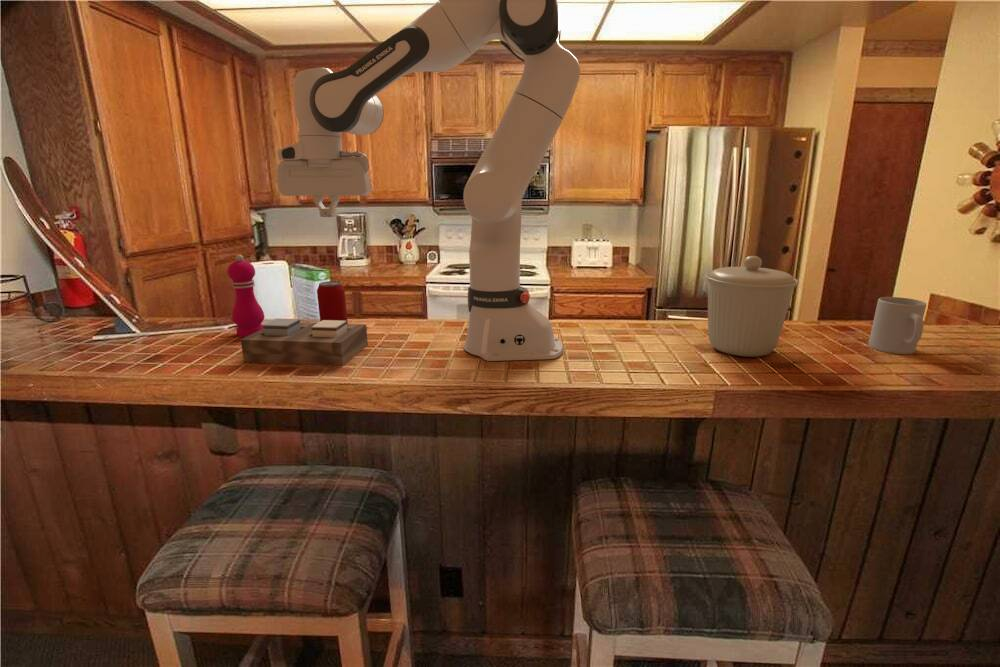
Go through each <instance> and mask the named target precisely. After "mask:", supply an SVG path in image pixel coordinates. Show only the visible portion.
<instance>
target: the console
mask: <svg viewBox="0 0 1000 667" xmlns="http://www.w3.org/2000/svg"><path fill="white" fill-rule="evenodd" d="M317 323H318V322H300V329H301V330H299V331H298V332H296V333H294V334H292V335H291V336H272V335H265V334H264V329H261V330H259V331H257V332H255V333H253V334H251V335H249V336H247V337H242V338H241V339H240V344H241V345H240V346H241V350H242V351H241V352H242V358H243V363H256V362H268V363H267V364H283V363H285V365H289V364H290V365H309V366H310V365H312V366H313V365H315V366H337V367H338V366H339V367H340V366H342V367H343V366H344V365H346V364H347V363H348V362H349V361H350V360H352V359H354V358H355V357H356V356H357V355H358V354H359V353H360V352H361V351H363V350H364V349H365V348H366V347H368V346H369V344H368V330H367V324H359V323H355V324H354V323H348V324H347V332H346V333H345V334H343V335H342V336H340V337H339V338H337V337H313V334H312V329H311V328H312V326H314V325H315V324H317ZM363 348H364V349H363ZM362 349H363V350H362Z"/></svg>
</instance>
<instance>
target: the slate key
mask: <svg viewBox="0 0 1000 667" xmlns="http://www.w3.org/2000/svg"><path fill="white" fill-rule="evenodd" d="M300 320H301V319H299V318H298V319H297V318H274V319H272V320H271V321H269V322H267V323H265V324H262V325H263V329H264V334H265V335H272V336H291V335H292V334H294V333H296V332H298V331H299V330H301V329H300V323H301V321H300Z"/></svg>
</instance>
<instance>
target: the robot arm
mask: <svg viewBox="0 0 1000 667" xmlns="http://www.w3.org/2000/svg"><path fill="white" fill-rule="evenodd" d="M561 22H562V21H561V12H560V8H559V3H558V0H437V1H436V2H434V3H433V5H431V6H430V7H429V8H427V9H426V10H425V11H424V12H422V13H421V14H420V15H419V16H418V17H417V18H415V19H414V20H413V21H412V22H410V23H409V24H408V25H406V26H405V27H403V28H402V29H401V30H399V31H398V32H396V33H395V34H393V35H391V36H389V37H388V38H387V39H386V40H384V41H383V42H381V43H379V44H378V45H377V46H376V47H374V48H373V49H371V50H370V51H369V52H367V53H366V54H365V55H363V56H362V57H361V58H359V59H358V60H356V61H355V62H354V63H352V64H351V65H350V66H348V67H347V68H345V69H343V70H342V69H341V70H340V71H335V72H333V71H332V70H331V69H330V68H328V67H323V66H316V67H315V66H311V67H310V66H309V67H306V68H303V69H301V70H300V71H298V72H296V75H295V77H294V82H293V100H294V102H293V103H294V111H295V112H294V113H295V117H296V120H297V123H298V132H297V136H298V138H297V140H298V141H297V142H295V143H292V144H290V145H288V146H284V147H282V148H279V149H278V150H277V158H278V160H280V162H278V165H277V169H276V171H277V172H276V173H277V186H278V187H277V189H278V191H279V193H280V194H281V196H287V197H292V196H293V197H294V196H295V197H296V196H297V197H298V196H300V197H303V196H308V197H309V196H312V200H313V201H312V202H313V203H314V204H315V205H316V207H317V209H319V217H321V218H335V217H336V208H337V206H338V204H339V202H340V196H345V197H347V196H348V197H349V196H351V197H352V196H357V197H359V196H363V197H364V196H369V195H370V193H371V192H372V186H371V185H372V184H371V178H370V175H369V168H370V167H369V159H368V156H367V155H366V154H364V153H363V152H361V151H357V150H355V151H349V150H348V151H347V150H346V151H343V141H342V133H346V134H350V135H358V136H367V135H371V134H373V133H375V132H376V131H378V129H379V128H380V127H381V126H382V123H383V121H384V116H385V115H384V113H385V112H384V106H383V103H382V101H381V99H380V98H379V96H378V94H380V93H381V92H382V91H384V90H385V89H386V88H388V87H389V86H391V85H392V84H393V83H395V82H396V81H398V80H399V79H400V78H403V77H404V76H407V75H409V74H413V73H418V72H428V73H445V72H447V71H449V70H451V69H454V68H455V67H457V66H459V65H460V64H462V63H463V62H465V61H466V60H467V59H468V58H471V56H472V55H474V53H476V52H477V51H478V50H480V49H481V48H482V47H483V46H485V45H486V44H488V43H491V42H492V41H496V40H498V41H500V44H501V45H502V46H503V47H505V48H506V49H507V50H508V51H509V52H510V53H511V54H512V55H513V56H514V57H516V58H517V59H518V60H519V61H521V62H523V63H524V66H523V71H522V75H521V77H520V80H519V82H518V83H517V85H516V87H515V90H514V92H513V94H512V96H511V98H510V100H509V102H508V105H507V106H506V108H505V110H504V113H503V115H502V117H501V119H500V121H499V123H498V125H497V127H496V130H495V131H494V133H493V135H492V137H491V138H490V139H489V140H490V141H489V142H488V144H487V145H486V146H485V148H484V150H483V152H482V153H481V156H480V157H479V159H478V161H477V163H476V165H475V166H474V169H473V170H472V172H471V174H470V176H469V178H468V180H467V182H466V184H465V186H464V188H463V205H464V207H465V209H466V212H467V213H468V215H469V216H470V217H471V229H470V230H471V231H470V243H469V248H468V249H469V251H468V257H469V258H468V259H469V261H468V262H469V287H468V288H467V308H468V312H469V318H468V327H467V334H466V339H465V343H464V346H463V348H464V350H465V352H467V353H469V354H471V355H474V356H478V357H480V358H482V359H483V360H485V361H488V362H493V361H494V362H496V361H497V362H498V361H500V362H501V361H529V360H554V359H557V358H559V357H560V356H561V355H562V354H563V352H564V345H563V342H562V341H561V339H560V338H558V337H556V336H555V334H554V330H553V326H552V323H551V321H550V319H549V318H548V317H547V316H545V314H543V313H542V312H540V311H539V310H538V309H537V308H535V307H534V306H532V305H531V304H530V303H529V302H530V298H531V295H530V291H529V289H528V288H524V287H523V286H521V285H520V284H521V283H520V282H521V280H520V279H521V278H520V277H521V267H520V266H521V235H522V234H521V232H522V206H523V205H522V202H523V201H522V200H523V196H524V194H525V193H526V191H527V189H528V187H529V185H530V184H531V181H532V179H533V178H534V176H535V174H536V172H537V170H538V169H539V167H540V165H541V163H542V161H543V159H544V158H545V155H546V154H547V152H548V149H549V148H550V146H551V144H552V142H553V140H554V138H555V136H556V134H557V132H558V131H559V128H560V127H561V125H562V123H563V121H564V119H565V116H566V114H567V112H568V110H569V108H570V105H571V104H572V103H571V102H572V100H573V98H574V96H575V93H576V89H577V87H578V84H579V80H580V76H581V66H580V63H579V61H578V59H577V58H576V56H575V55H574V54H572V52H571V51H569V50H568V49H566V48H564V47H563V46H562V45H561V44H560V40H561V31H562V30H561ZM324 196H327V197H328V201H329V202H331V203H330V205H329V207H328V208H326V207H325V205H324V204H323V202H324Z"/></svg>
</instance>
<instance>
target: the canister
mask: <svg viewBox="0 0 1000 667" xmlns="http://www.w3.org/2000/svg"><path fill="white" fill-rule="evenodd" d="M762 263H763V261H762V259H761V257H759V256H757V255H749V256H747V257H745V258H744V260H743V266H725V267H717V268H715V269H713V270H712V271H711V272H708V273H705V276H704V278H705V279H706V280H707V326H708V329H707V330H708V339H709V342H710V345H711V346H712V347H713V348H714V349H716V350H717V351H719V352H722V353H723V354H727V355H731V356H735V357H737V356H738V357H744V358H745V357H748V358H750V357H751V358H755V357H756V358H757V357H764V356H766V355H769V354H770V353H772V352H773V351H774V350H775V348H776V347H777V344H778V342H779V339H780V336H781V333H782V330H783V327H784V324H785V321H786V320H785V319H786V318H787V314H788V310H789V307H790V303H791V301H792V296H793V292H794V289H795V287H796V286H798V285H799V283H800V281H799V280H798V279H797V278H795V277H794V276H793V275H791V273H788V272H785V271H782V270H777V269H771V268H767V267H761V266H762V265H763V264H762Z"/></svg>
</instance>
